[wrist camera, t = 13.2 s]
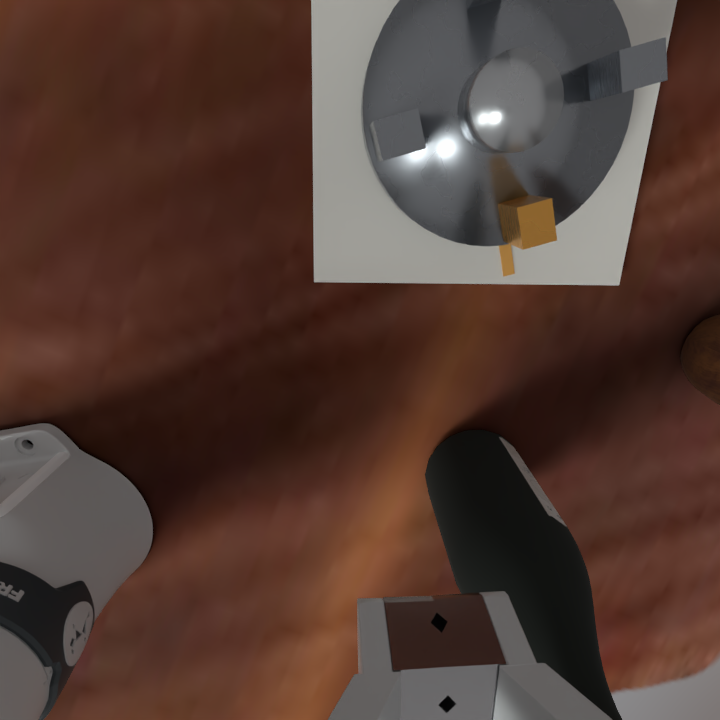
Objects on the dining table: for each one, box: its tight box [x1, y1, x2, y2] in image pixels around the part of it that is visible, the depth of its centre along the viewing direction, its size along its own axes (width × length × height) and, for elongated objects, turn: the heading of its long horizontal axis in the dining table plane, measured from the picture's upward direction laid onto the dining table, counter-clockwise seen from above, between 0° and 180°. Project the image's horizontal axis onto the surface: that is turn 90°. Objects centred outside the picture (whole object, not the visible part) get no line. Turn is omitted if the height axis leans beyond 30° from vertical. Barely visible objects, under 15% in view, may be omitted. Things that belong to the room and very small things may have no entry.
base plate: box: [311, 0, 677, 285], centre depth 33 cm, size 22×22×2 cm
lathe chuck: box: [361, 0, 668, 250], centre depth 29 cm, size 16×16×6 cm
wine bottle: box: [425, 430, 622, 720], centre depth 29 cm, size 8×8×30 cm
